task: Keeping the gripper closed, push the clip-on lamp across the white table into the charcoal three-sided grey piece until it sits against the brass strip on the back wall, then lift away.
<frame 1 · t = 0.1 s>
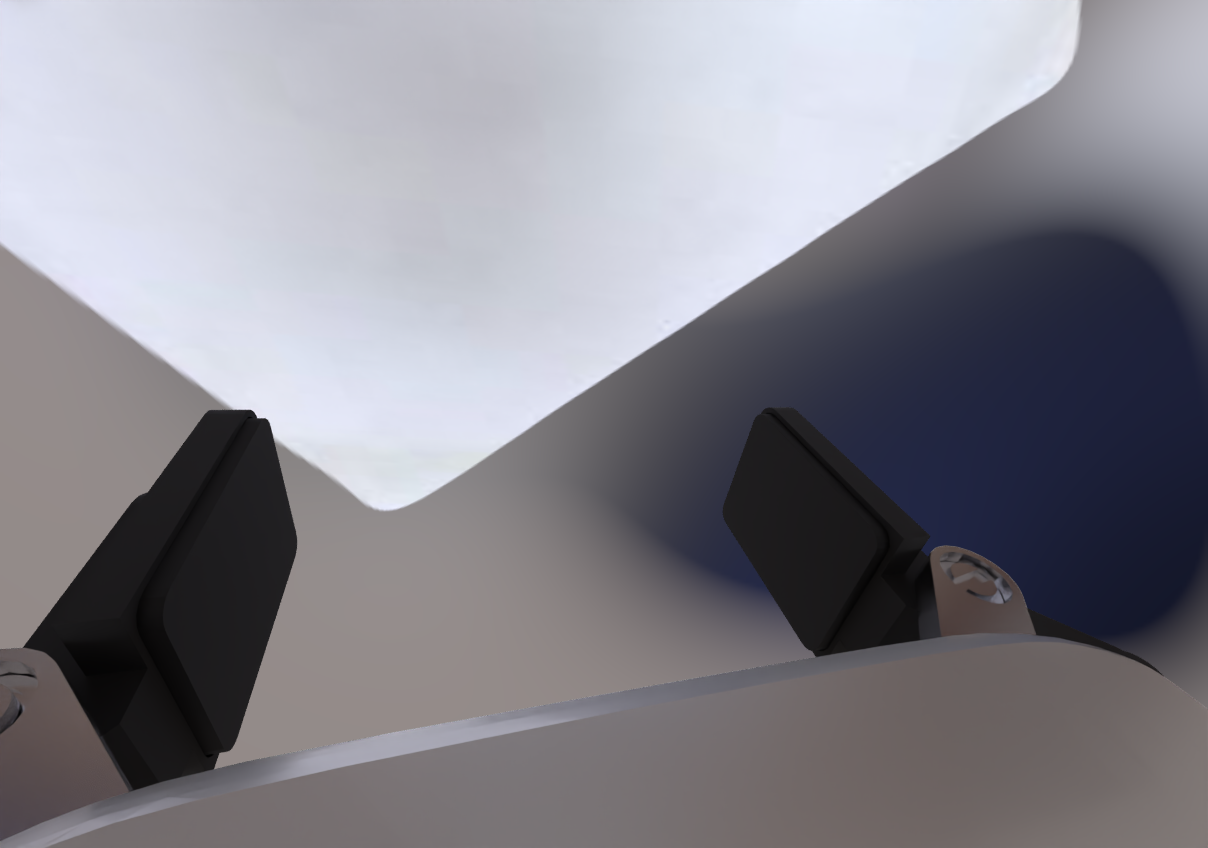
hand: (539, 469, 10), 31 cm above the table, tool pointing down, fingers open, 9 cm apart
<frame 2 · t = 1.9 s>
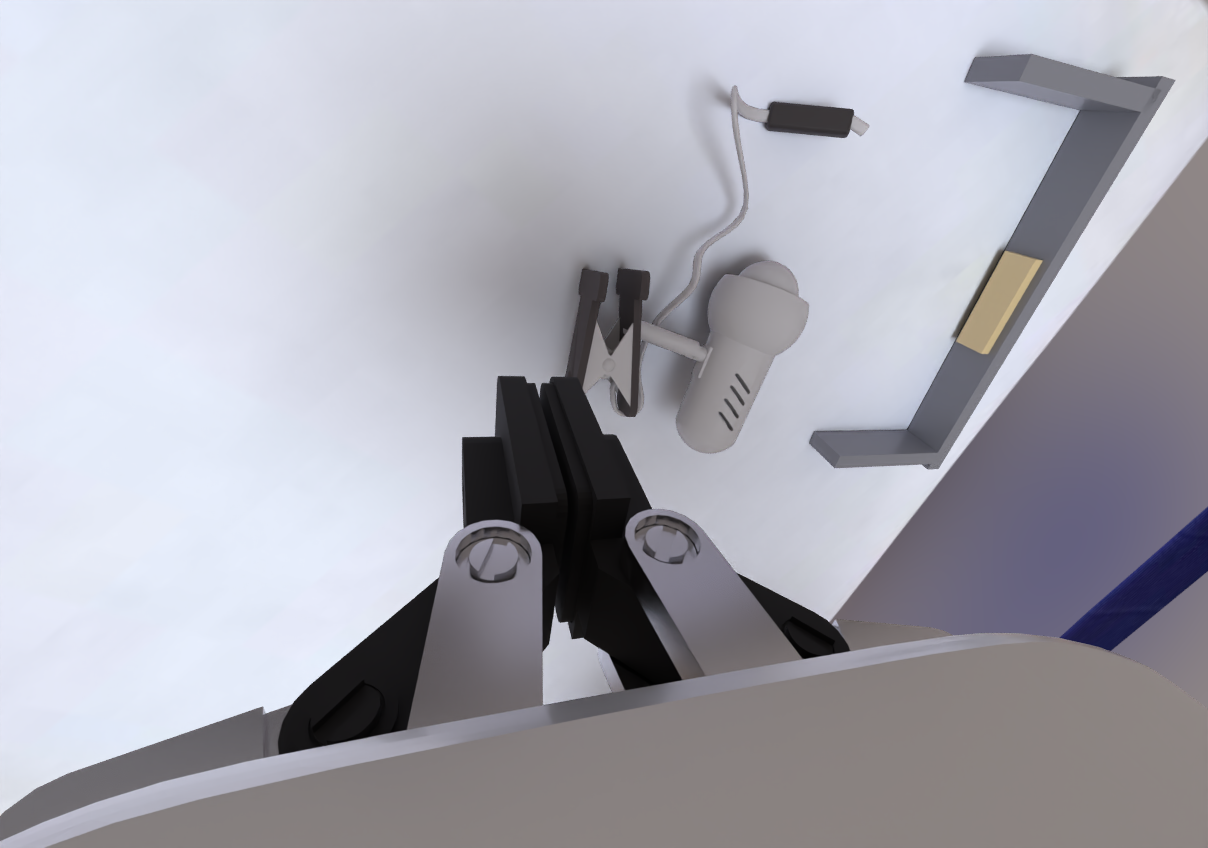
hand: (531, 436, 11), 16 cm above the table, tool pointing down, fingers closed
grey piece: (889, 288, 31), on the table
clip-on lamp: (690, 262, 27), on the table
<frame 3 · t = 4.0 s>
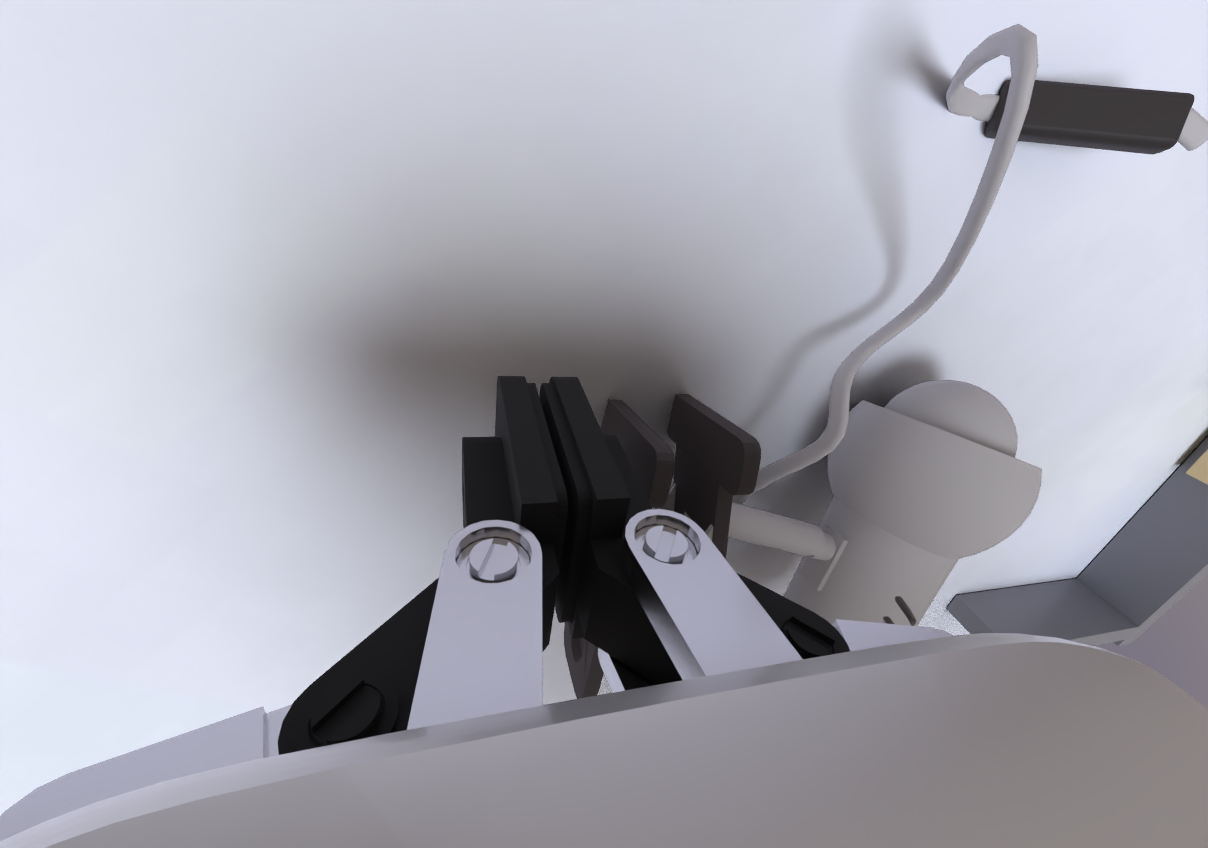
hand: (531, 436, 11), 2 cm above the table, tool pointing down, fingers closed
grey piece: (1116, 408, 19), on the table
clip-on lamp: (799, 374, 15), on the table, touching gripper
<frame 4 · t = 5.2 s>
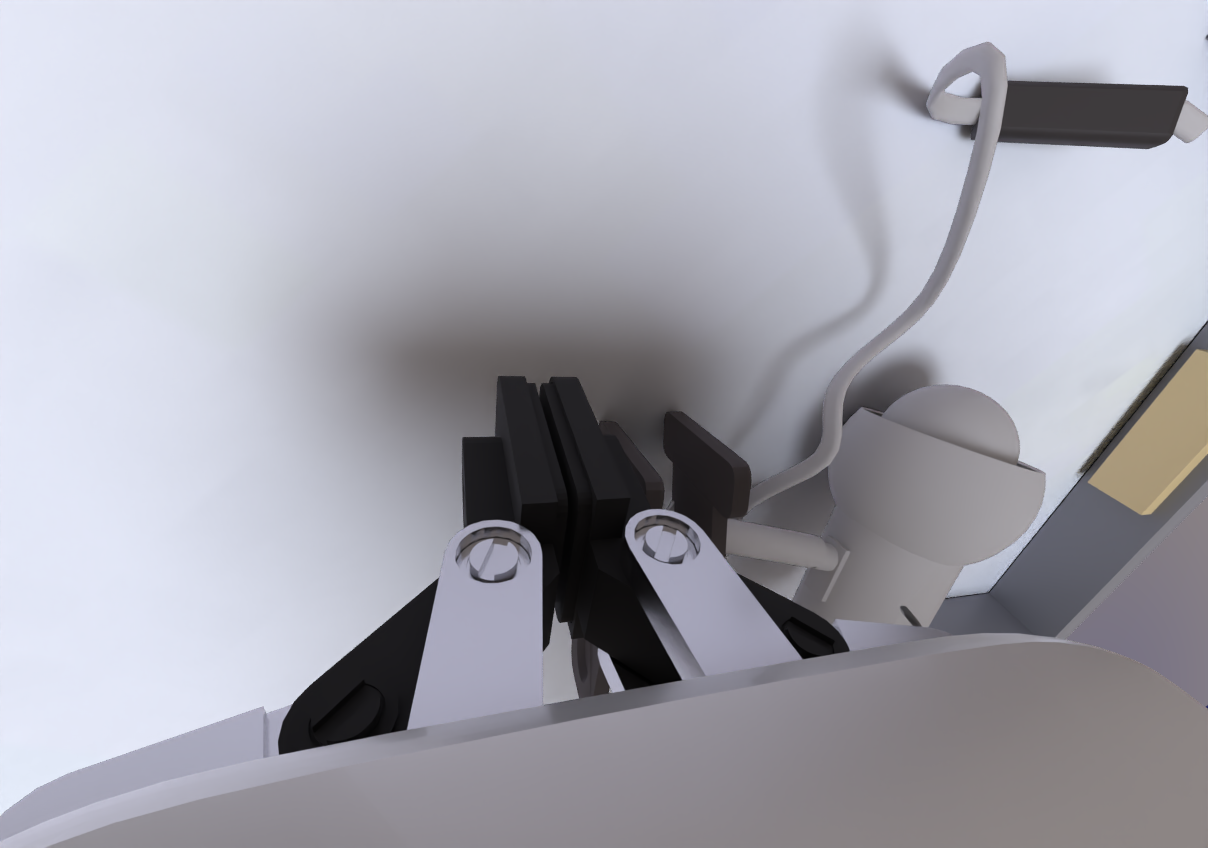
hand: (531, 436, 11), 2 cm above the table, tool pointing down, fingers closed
grey piece: (995, 413, 18), on the table
clip-on lamp: (795, 384, 15), on the table, touching gripper
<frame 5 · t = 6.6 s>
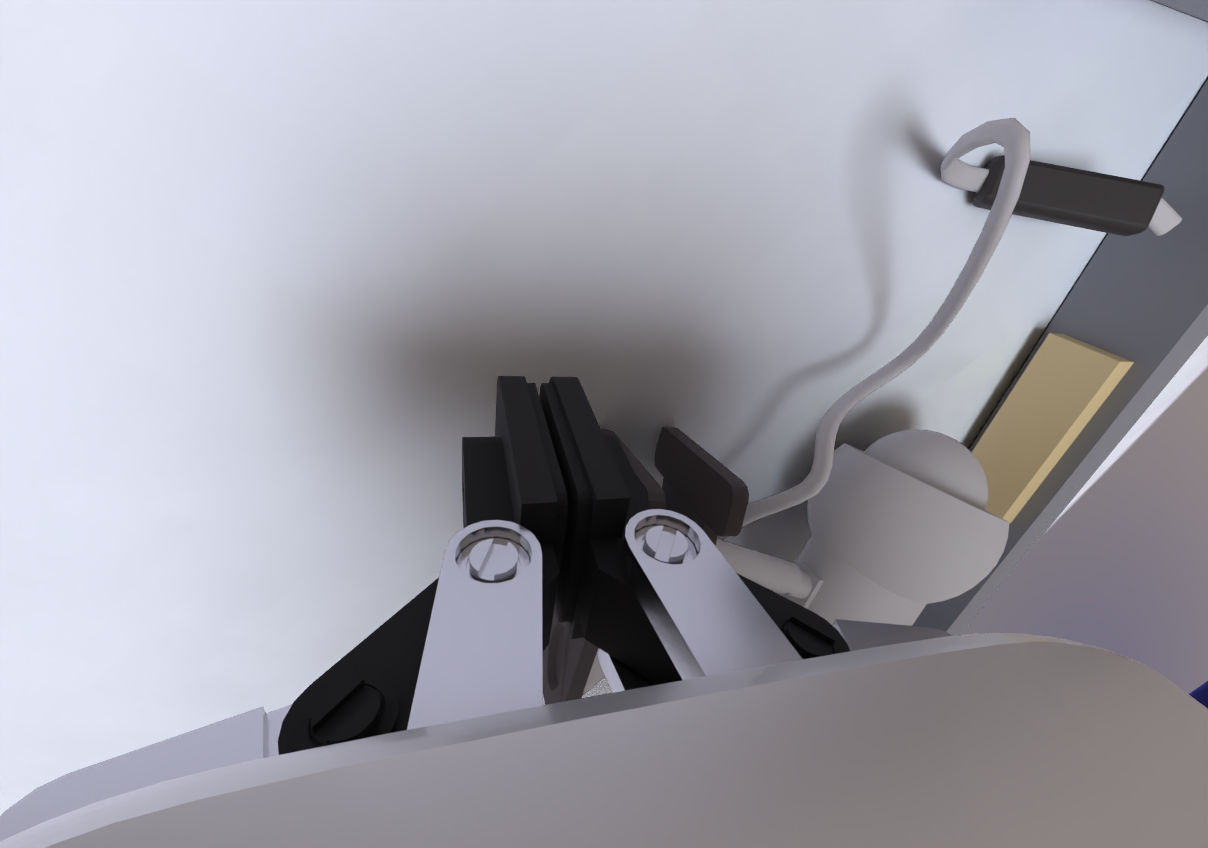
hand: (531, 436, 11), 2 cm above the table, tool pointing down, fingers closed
grey piece: (815, 408, 15), on the table
clip-on lamp: (785, 414, 16), on the table, touching gripper
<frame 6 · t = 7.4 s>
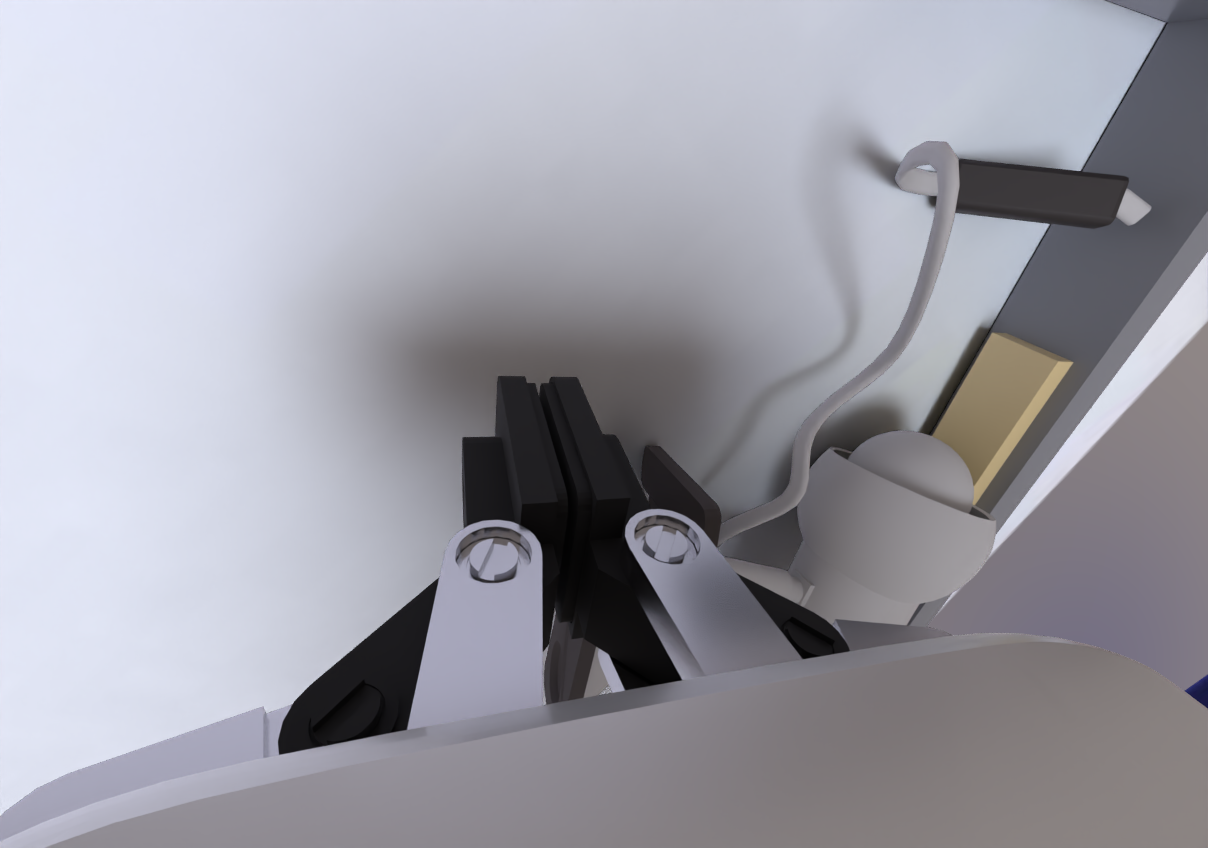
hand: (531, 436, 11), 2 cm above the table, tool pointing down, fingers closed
grey piece: (751, 410, 15), on the table
clip-on lamp: (769, 423, 16), on the table, touching grey piece, gripper
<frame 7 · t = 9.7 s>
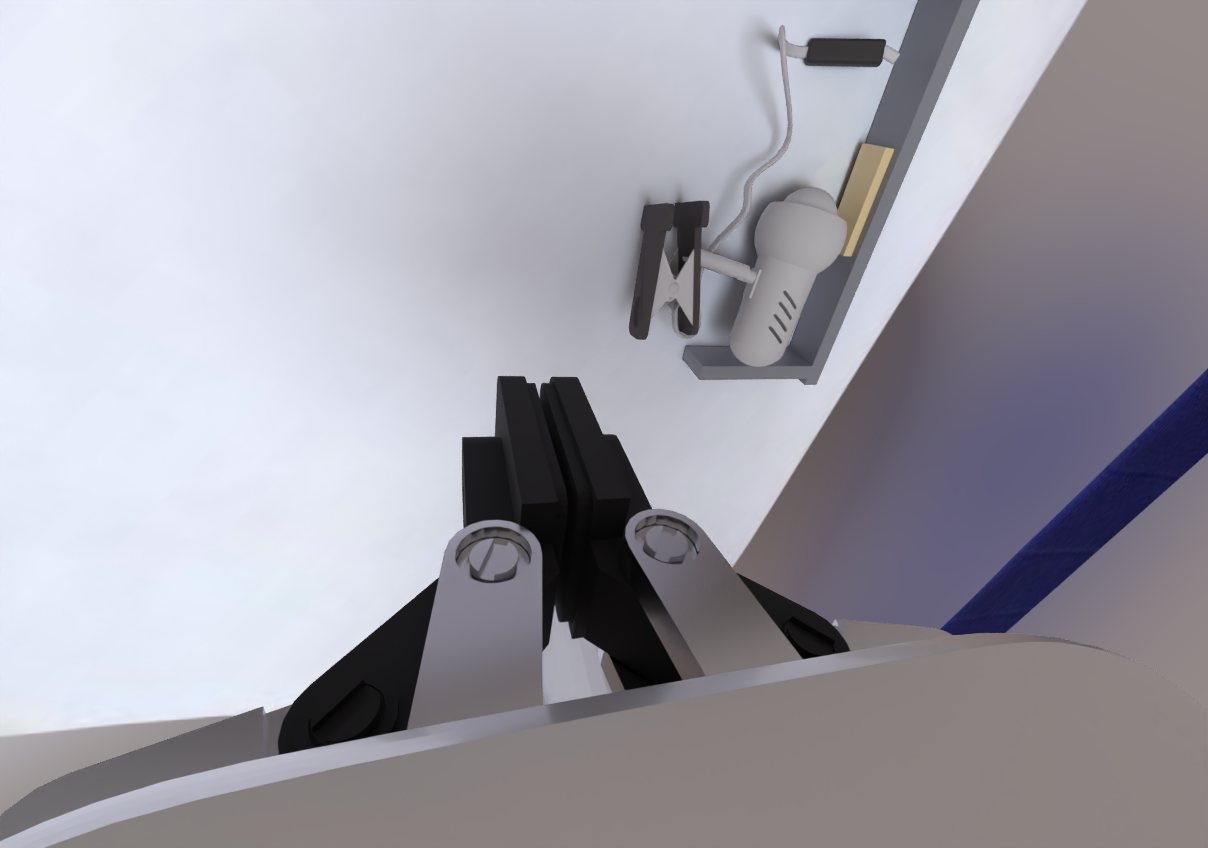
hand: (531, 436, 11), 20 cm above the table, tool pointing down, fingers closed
grey piece: (741, 184, 30), on the table
clip-on lamp: (737, 195, 30), on the table
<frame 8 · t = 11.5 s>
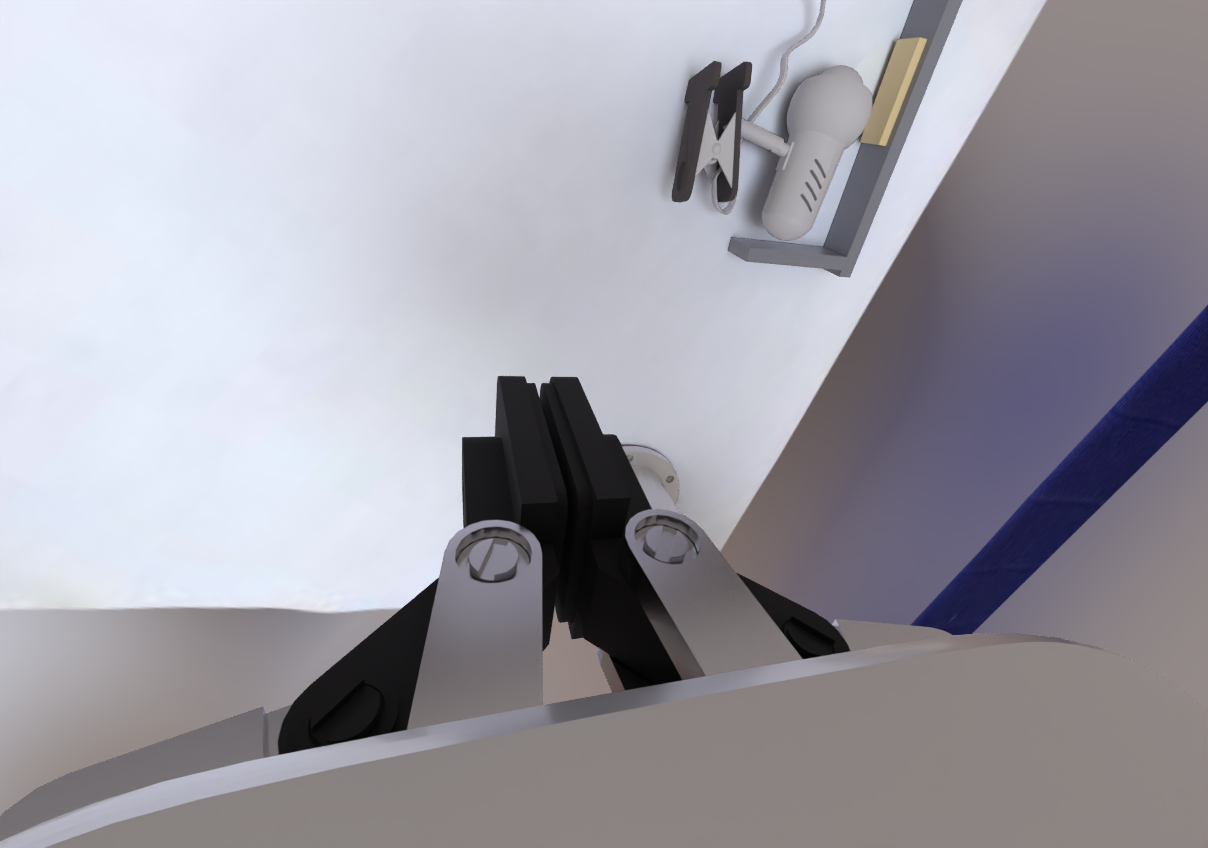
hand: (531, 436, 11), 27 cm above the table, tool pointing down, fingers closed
grey piece: (789, 74, 33), on the table
clip-on lamp: (771, 78, 34), on the table
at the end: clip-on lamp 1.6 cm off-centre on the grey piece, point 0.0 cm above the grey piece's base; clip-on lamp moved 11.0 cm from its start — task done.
